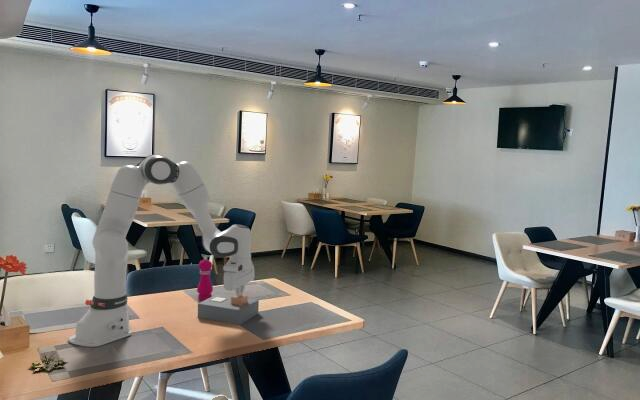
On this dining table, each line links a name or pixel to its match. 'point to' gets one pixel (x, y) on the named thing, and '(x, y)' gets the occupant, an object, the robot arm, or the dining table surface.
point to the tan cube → (239, 300)
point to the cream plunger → (218, 299)
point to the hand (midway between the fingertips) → (239, 295)
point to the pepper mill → (205, 280)
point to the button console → (227, 310)
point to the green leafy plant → (47, 362)
